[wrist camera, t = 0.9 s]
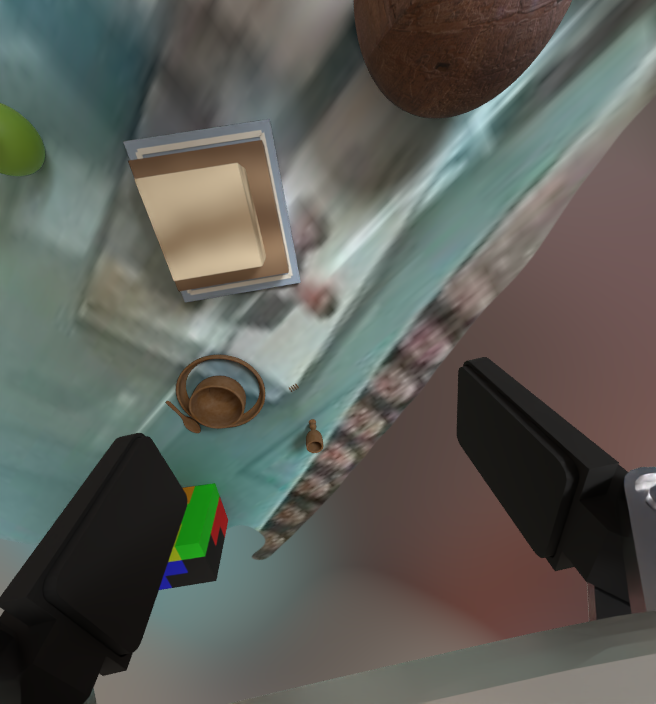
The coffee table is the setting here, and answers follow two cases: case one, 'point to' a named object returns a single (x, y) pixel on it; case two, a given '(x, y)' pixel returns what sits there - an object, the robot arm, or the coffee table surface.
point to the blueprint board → (264, 133)
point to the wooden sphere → (451, 48)
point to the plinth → (259, 192)
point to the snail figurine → (19, 144)
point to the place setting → (225, 402)
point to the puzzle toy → (197, 539)
